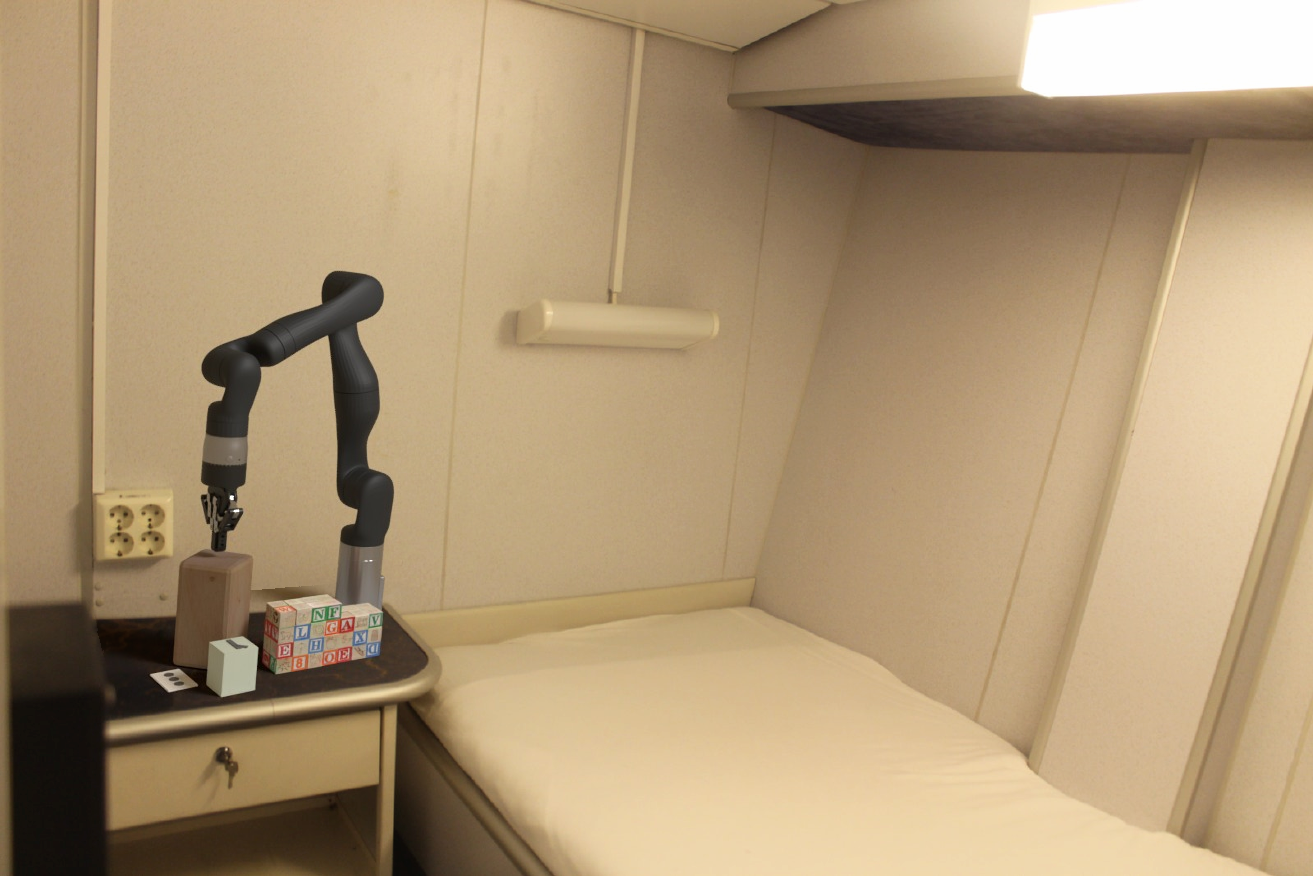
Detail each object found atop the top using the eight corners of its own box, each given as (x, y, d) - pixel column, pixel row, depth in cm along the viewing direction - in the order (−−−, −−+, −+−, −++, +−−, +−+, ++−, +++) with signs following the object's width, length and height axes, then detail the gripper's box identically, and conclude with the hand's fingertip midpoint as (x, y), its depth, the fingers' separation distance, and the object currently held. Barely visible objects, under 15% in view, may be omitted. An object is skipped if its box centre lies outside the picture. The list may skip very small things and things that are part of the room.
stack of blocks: (364, 645, 201) (370, 588, 199) (379, 656, 197) (385, 597, 195) (261, 663, 186) (265, 601, 184) (274, 675, 182) (279, 612, 180)
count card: (150, 675, 175) (150, 673, 174) (179, 670, 178) (179, 668, 178) (168, 692, 169) (168, 690, 169) (197, 686, 173) (197, 684, 173)
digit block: (239, 678, 179) (242, 635, 177) (255, 690, 175) (258, 646, 173) (206, 685, 174) (209, 641, 173) (221, 697, 170) (224, 652, 169)
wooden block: (224, 673, 179) (232, 568, 177) (170, 666, 179) (177, 561, 176) (248, 653, 189) (255, 553, 186) (196, 647, 189) (203, 546, 186)
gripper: (261, 465, 177) (254, 558, 180) (229, 450, 186) (222, 539, 188) (220, 467, 172) (213, 562, 174) (188, 451, 180) (182, 543, 183)
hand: (218, 550), depth 181 cm, fingers closed
